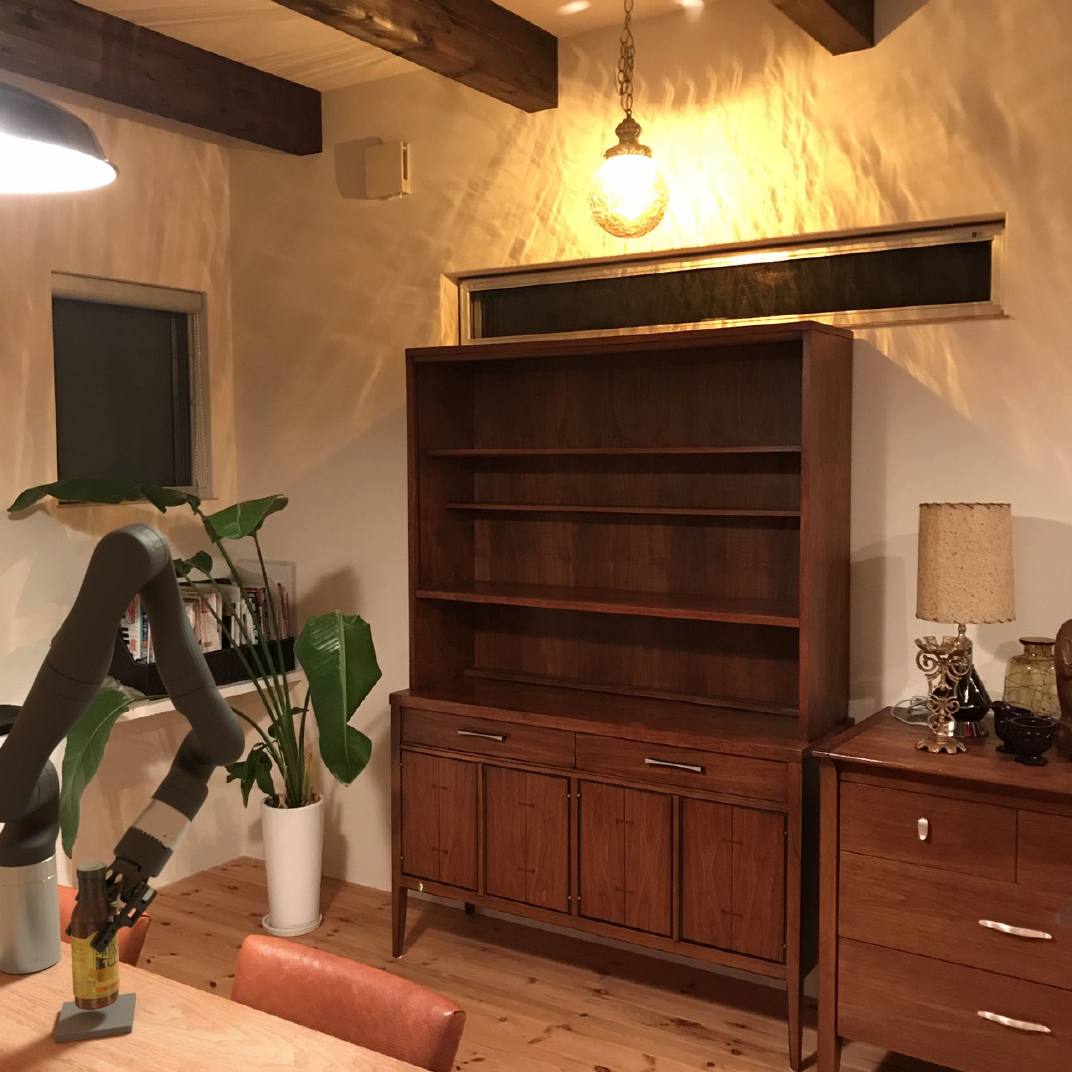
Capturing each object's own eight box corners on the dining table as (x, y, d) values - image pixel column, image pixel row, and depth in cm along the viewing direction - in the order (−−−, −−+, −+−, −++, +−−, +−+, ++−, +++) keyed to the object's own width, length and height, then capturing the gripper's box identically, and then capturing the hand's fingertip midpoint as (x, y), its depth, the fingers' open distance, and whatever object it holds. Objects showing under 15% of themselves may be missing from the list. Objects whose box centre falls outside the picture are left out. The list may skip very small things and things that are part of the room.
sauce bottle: (104, 1014, 162) (96, 876, 160) (64, 1010, 163) (56, 874, 161) (130, 991, 168) (122, 859, 167) (91, 988, 170) (83, 856, 168)
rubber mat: (63, 1008, 169) (63, 1002, 169) (136, 998, 172) (135, 992, 172) (55, 1043, 160) (54, 1036, 160) (131, 1032, 163) (131, 1025, 162)
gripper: (109, 815, 174) (37, 918, 166) (163, 835, 165) (91, 945, 157) (142, 839, 179) (75, 941, 171) (197, 860, 169) (128, 968, 161)
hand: (83, 942), depth 164 cm, fingers closed on sauce bottle, 6 cm apart
